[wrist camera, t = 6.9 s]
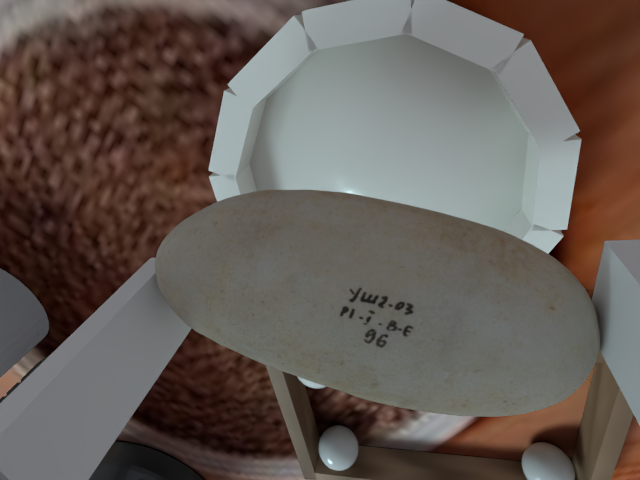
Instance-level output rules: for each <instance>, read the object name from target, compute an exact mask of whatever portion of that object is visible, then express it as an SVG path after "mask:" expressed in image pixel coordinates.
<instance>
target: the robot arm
mask: <svg viewBox="0 0 640 480" xmlns="http://www.w3.org/2000/svg"><path fill="white" fill-rule="evenodd" d="M155 259H156V258H150V259H149V260H148V261H147V262H146V263H145V264H144V265H143V266H142V267H141V268H140V269H139V270H138V271H137V272H136V273H134V274H133V275H132V276H131V277H130V278H129V279H128V280H127V281H126V282H125V283H124V284H123V285H122V286H121V287H120V288H119V289H118V290H117V291H116V292H115V293H114V294H113V295H112V296H111V297H110V298H109V299H108V300H107V301H106V302H105V303H103V304H102V305H101V306H100V307H99V308H98V309H97V310H96V311H95V312H94V313H93V314H92V315H91V316H90V317H89V318H88V319H87V320H86V321H85V322H84V323H83V324H82V325H81V326H80V327H79V328H78V329H77V330H76V331H75V332H73V333H72V334H71V335H70V336H69V337H68V338H67V339H66V340H65V341H64V342H63V343H62V344H61V345H60V346H59V347H58V348H57V349H56V350H55V351H54V352H53V353H52V354H50V355H49V356H47V357H46V358H44V359H43V360H42V361H40V362H39V363H37V364H36V365H35V366H34V367H33V368H32V369H31V370H30V371H29V372H28V373H27V374H26V375H25V376H24V377H23V378H22V379H21V382H20V383H17V384H16V385H14V386H13V387H12V388H11V389H10V390H9V391H8V392H7V395H6V396H5V397H2V398H1V399H0V480H203V479H202V478H201V477H200V476H199V475H198V474H196V473H195V472H194V471H192V470H191V469H190V468H188V467H187V466H185V465H184V464H182V463H180V462H179V461H177V460H175V459H173V458H171V457H169V456H167V455H165V454H163V453H160V452H158V451H155V450H153V449H150V448H147V447H144V446H140V445H136V444H131V443H125V442H115V440H116V439H117V437H118V436H119V434H120V433H121V431H122V430H123V428H124V427H125V425H126V424H127V423H128V421H129V420H130V418H131V417H132V415H133V414H134V412H135V411H136V409H137V408H138V406H139V405H140V404H141V402H142V401H143V399H144V398H145V396H146V395H147V393H148V392H149V390H150V389H151V387H152V386H153V384H154V383H155V382H156V380H157V379H158V377H159V376H160V374H161V373H162V371H163V370H164V368H165V367H166V365H167V364H168V363H169V361H170V360H171V358H172V357H173V355H174V354H175V352H176V351H177V349H178V348H179V346H180V345H181V344H182V342H183V341H184V339H185V338H186V336H187V335H188V333H189V332H190V330H191V329H192V328H191V327H190V326H188V325H187V324H186V323H185V322H184V321H183V320H182V319H181V318H180V317H179V316H178V315H177V314H176V313H175V312H174V311H173V309H172V308H171V307H170V305H169V304H168V303H167V301H166V300H165V298H164V296H163V295H162V293H161V291H160V289H159V286H158V283H157V278H156V272H155ZM592 302H593V304H594V307H595V310H596V313H597V318H598V322H599V327H600V352H601V354H602V356H603V358H604V359H605V361H606V363H607V365H608V367H609V369H610V371H611V373H612V374H613V376H614V378H615V380H616V382H617V384H618V386H619V388H620V390H621V391H622V393H623V395H624V397H625V399H626V401H627V403H628V405H629V407H630V408H631V410H632V412H633V414H634V416H635V418H636V420H637V422H638V423H639V425H640V240H616V241H605V242H604V247H603V251H602V256H601V260H600V265H599V269H598V274H597V278H596V283H595V288H594V292H593V297H592Z"/></svg>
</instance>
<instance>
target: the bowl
mask: <svg viewBox="0 0 640 480" xmlns="http://www.w3.org/2000/svg"><path fill="white" fill-rule="evenodd" d="M523 36H524V34H523V33H520V32H518V31H516V30H514V29H511V28H509V27H507V26H504V25H502V24H500V23H497V22H495V21H493V20H491V19H488V18H486V17H484V16H481V15H479V14H477V13H474V12H472V11H470V10H468V9H465V8H463V7H461V6H458V5H456V4H454V3H451V2H449V1H447V0H350V1H346V2H341V3H336V4H332V5H327V6H322V7H318V8H313V9H308V10H304V11H302V15H294V16H293V17H292V18H291V19H290V20H289V21H288V22H287V23H286V24H285V25H284V26H283V27H282V28H281V29H280V30H279V31H278V32H277V33H276V34H275V35H274V36H273V37H272V39H271V40H270V41H269V42H268V43H267V44H266V45H265V46H264V47H263V48H262V49H261V50H260V51H259V52H258V53H257V54H256V55H255V56H254V57H253V58H252V59H251V60H250V61H249V62H248V63H247V64H246V66H245V67H244V68H243V69H242V70H241V71H240V72H239V73H238V74H237V75H236V76H235V77H234V78H233V79H232V80H231V81H230V82H229V83H228V84H227V85H228V86H229V87H230V88H229V89H227V90H225V91H224V94H223V99H222V104H221V109H220V114H219V119H218V124H217V129H216V134H215V139H214V144H213V149H212V154H211V159H210V164H209V171H211V172H214V173H213V174H211V175H210V176H209V179H210V182H211V185H212V188H213V191H214V194H215V197H216V200H217V202H219V201H221V200H224V199H226V198H230V197H233V196H237V195H242V194H246V193H251V192H255V191H261V190H319V191H331V192H343V193H350V194H356V195H361V196H366V197H371V198H376V199H382V200H387V201H392V202H397V203H402V204H406V205H411V206H415V207H419V208H424V209H428V210H432V211H436V212H440V213H444V214H448V215H451V216H455V217H459V218H462V219H466V220H470V221H473V222H476V223H480V224H483V225H486V226H489V227H492V228H496V229H498V230H501V231H504V232H506V233H509V234H511V235H513V236H515V237H517V238H519V239H521V240H524V241H526V242H528V243H530V244H532V245H534V246H535V247H537V248H539V249H541V250H542V251H544V252H546V253H547V254H548V253H549V252H550V251H551V250H552V249H553V248H554V247H555V245H556V244H557V243H558V242H559V241H560V240H561V239H562V238H563V234H562V232H561V231H560V230H567V227H568V221H569V215H570V209H571V202H572V196H573V190H574V184H575V177H576V171H577V165H578V159H579V153H580V146H581V140H582V139H581V138H579V137H578V136H577V135H576V133H578V132H580V130H579V128H578V126H577V124H576V122H575V120H574V119H573V117H572V115H571V113H570V111H569V109H568V108H567V106H566V104H565V102H564V100H563V98H562V97H561V95H560V93H559V91H558V89H557V87H556V85H555V84H554V82H553V80H552V78H551V76H550V74H549V73H548V71H547V69H546V67H545V65H544V63H543V62H542V60H541V58H540V56H539V54H538V52H537V50H536V49H535V47H534V45H533V43H532V41H531V40H529V39H525V38H522V37H523Z"/></svg>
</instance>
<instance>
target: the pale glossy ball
mask: <svg viewBox="0 0 640 480" xmlns="http://www.w3.org/2000/svg"><path fill="white" fill-rule="evenodd" d="M358 450H359V447H358V441H357V438H356V436H355V435H354V433H353V432H352V431H351V430H350V429H348V428H347V427H345V426H341V425H335V426H332V427H330V428H328V429H327V430H325V431H324V433H323V434H322V436H321V438H320V441H319V454H320V457H321V459H322V461H323V463H324V464H325V465H326V466H327V467H329V468H330V469H332V470H336V471H342V470H345V469H348V468H349V467H351V466H352V465H353V463H354V462H355V461H356V459H357V456H358Z"/></svg>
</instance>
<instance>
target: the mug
mask: <svg viewBox="0 0 640 480" xmlns="http://www.w3.org/2000/svg"><path fill="white" fill-rule="evenodd" d="M48 330H49V321H48V318H47V314H46V312H45V310H44V308H43V306H42V305H41V303H40V302H39V301H38V299H37V298H36V297H35V296H34V294H33V293H32V292H31V291H30V290H29V289H28V288H27V287H26V286H25V285H24V284H22V283H21V282H20V281H19V280H18V279H16V278H15V277H13V276H12V275H11V274H9V273H7V272H6V271H4V270H2V269H1V268H0V377H1V376H2V375H4V374H5V373H6V372H7V371H8V370H9V369H10V368H11V367H12V366H14V365H15V364H16V363H17V362H18V361H19V360H20V359H21V358H22V357H23V356H25V355H26V354H27V353H28V352H29V351H30V350H31V349H32V348H33V347H35V346H36V345H37V344H38V343H39V342H40V341H41V340H42V339H43V338H44V337H45V336H46V335H47V333H48Z"/></svg>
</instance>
